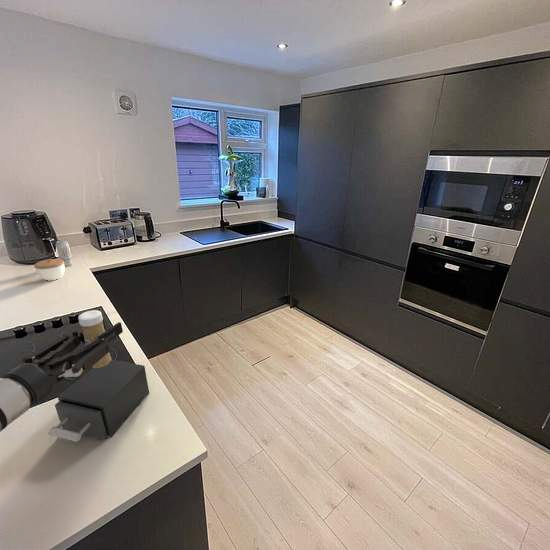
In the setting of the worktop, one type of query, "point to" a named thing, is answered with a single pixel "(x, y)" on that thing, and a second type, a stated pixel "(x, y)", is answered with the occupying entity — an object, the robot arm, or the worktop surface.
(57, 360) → the robot arm
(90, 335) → the sprinkles bottle
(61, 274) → the lidded bowl
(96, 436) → the drawer
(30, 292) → the worktop surface
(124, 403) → the cabinet
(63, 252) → the clear ribbed bottle
